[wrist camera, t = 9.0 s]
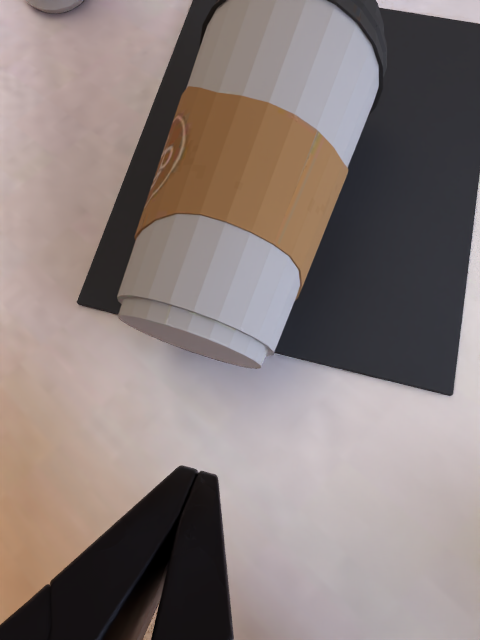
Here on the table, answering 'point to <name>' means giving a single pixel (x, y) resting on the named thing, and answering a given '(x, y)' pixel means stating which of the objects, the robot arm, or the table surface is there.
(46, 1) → the rook chess piece
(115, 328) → the table surface
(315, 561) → the table surface
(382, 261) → the mat
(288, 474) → the table surface
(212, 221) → the coffee cup
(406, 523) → the table surface
